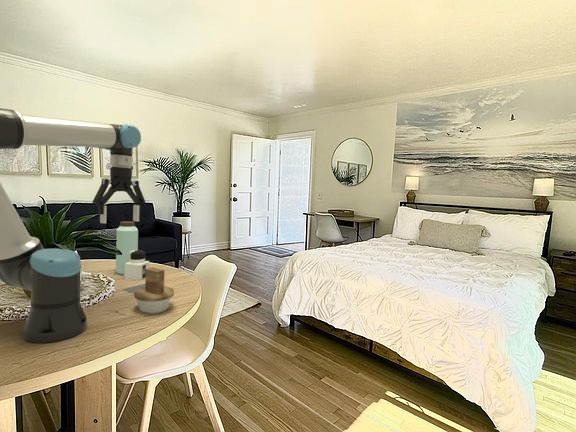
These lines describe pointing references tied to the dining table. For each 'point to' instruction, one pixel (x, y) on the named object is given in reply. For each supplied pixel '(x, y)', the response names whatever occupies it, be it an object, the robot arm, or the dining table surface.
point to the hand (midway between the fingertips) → (120, 222)
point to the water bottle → (125, 244)
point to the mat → (135, 288)
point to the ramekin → (153, 306)
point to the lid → (154, 287)
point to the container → (136, 266)
